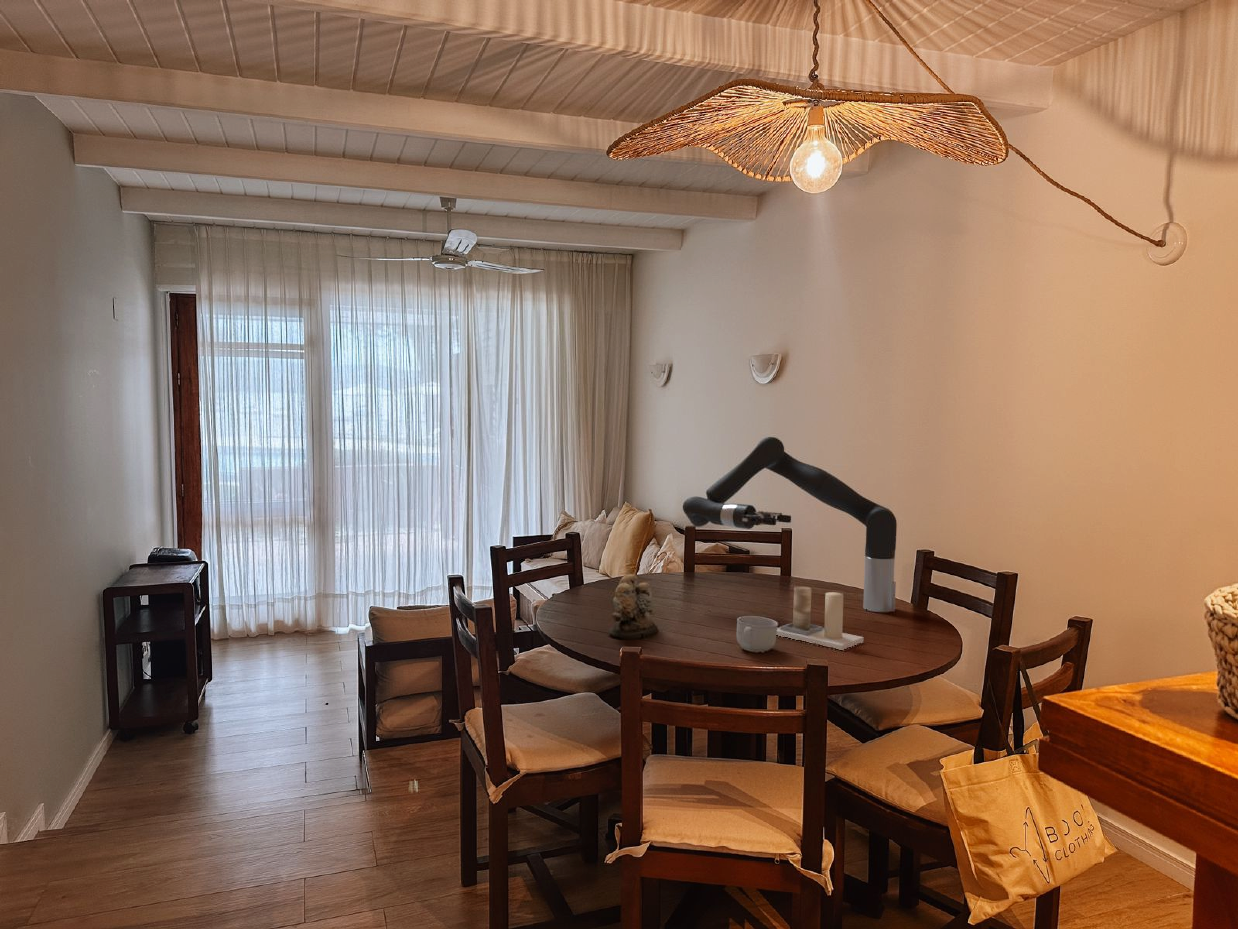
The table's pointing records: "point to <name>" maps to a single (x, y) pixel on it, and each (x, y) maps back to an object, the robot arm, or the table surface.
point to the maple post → (802, 608)
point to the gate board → (823, 640)
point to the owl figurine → (633, 610)
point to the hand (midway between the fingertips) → (783, 520)
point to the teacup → (756, 633)
